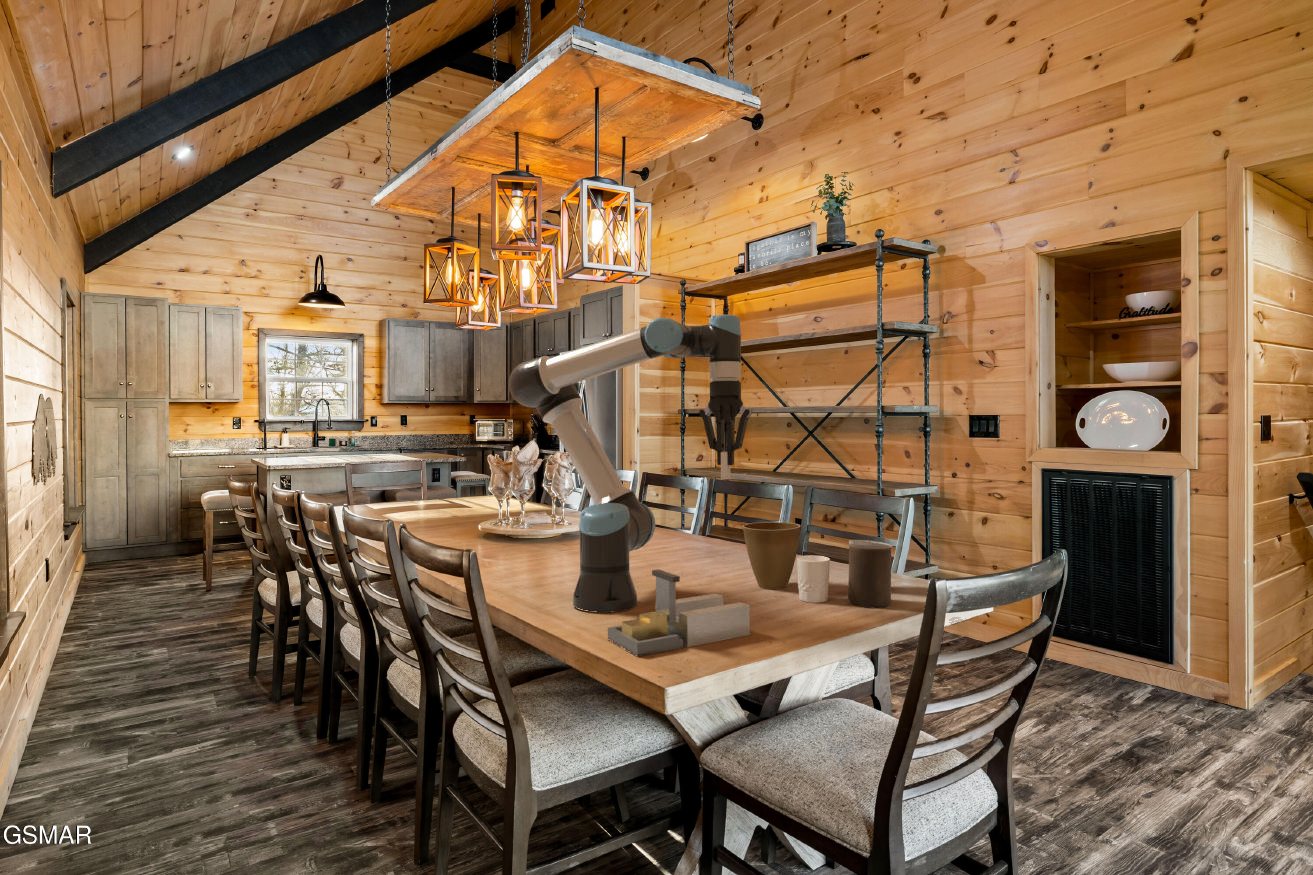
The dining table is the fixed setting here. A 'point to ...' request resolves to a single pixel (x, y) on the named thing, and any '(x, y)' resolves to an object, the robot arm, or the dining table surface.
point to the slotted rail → (709, 620)
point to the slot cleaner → (666, 593)
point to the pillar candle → (869, 574)
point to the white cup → (813, 578)
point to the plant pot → (772, 551)
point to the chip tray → (644, 642)
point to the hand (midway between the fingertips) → (725, 478)
